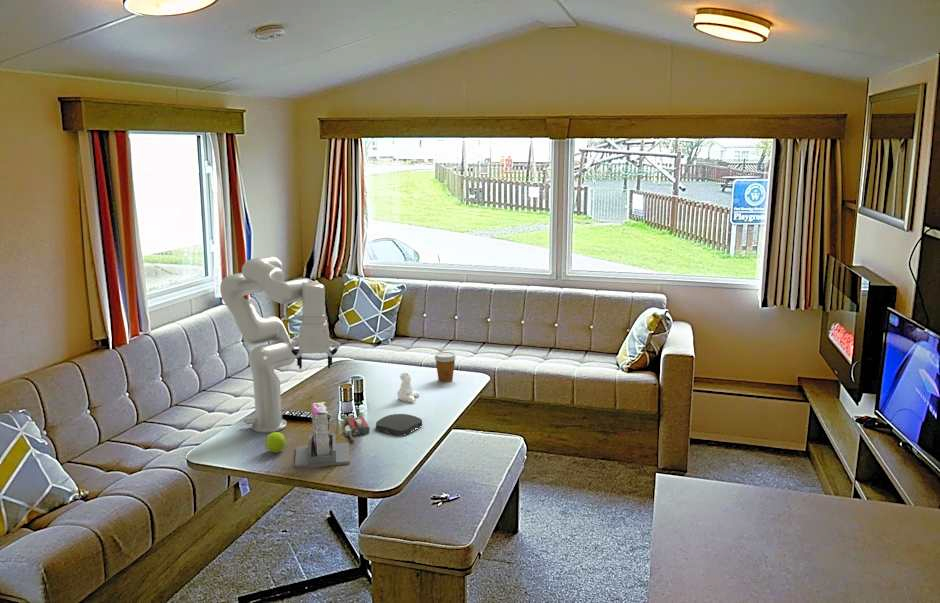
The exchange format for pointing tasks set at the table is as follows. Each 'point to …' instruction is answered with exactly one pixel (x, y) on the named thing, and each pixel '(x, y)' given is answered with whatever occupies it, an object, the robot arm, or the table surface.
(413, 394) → the sitting furry creature
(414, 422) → the media streaming box
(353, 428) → the walkie-talkie
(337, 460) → the dock
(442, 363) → the disposable coffee cup
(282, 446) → the tennis ball
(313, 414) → the candy bar box
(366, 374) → the table surface
